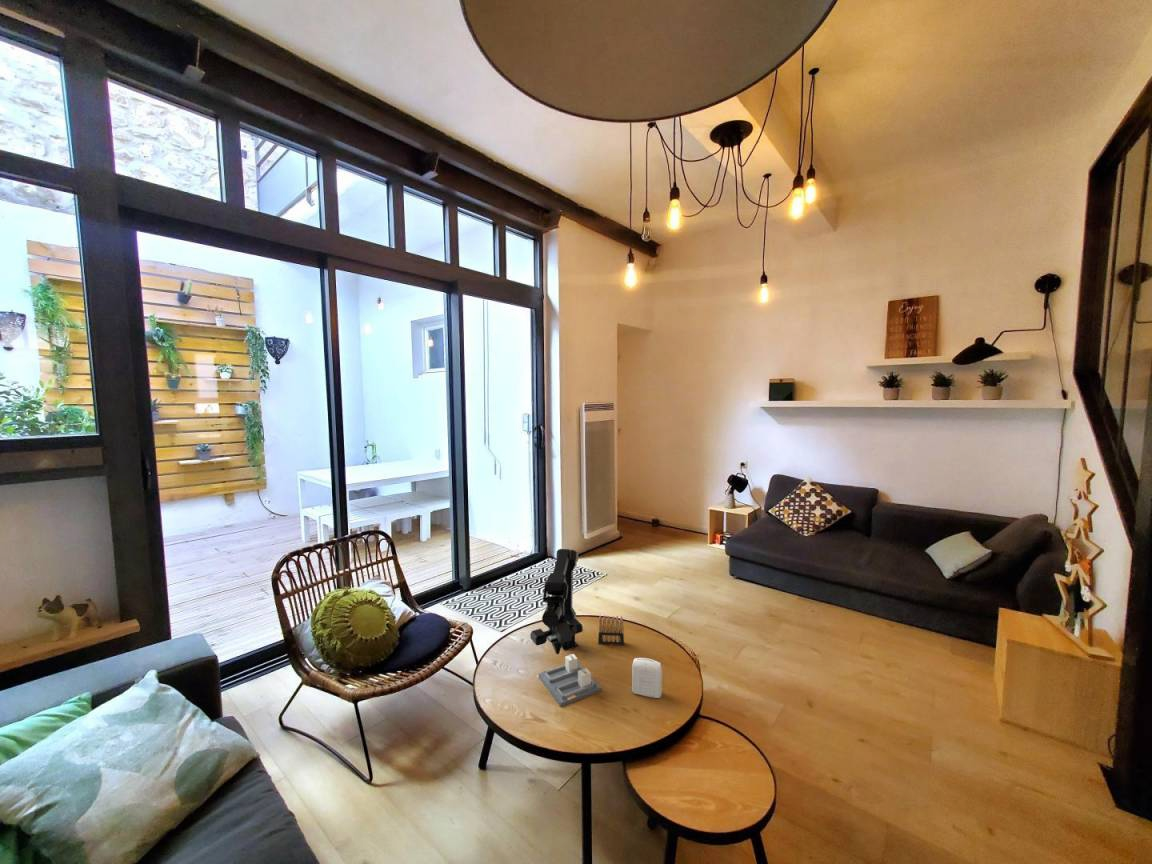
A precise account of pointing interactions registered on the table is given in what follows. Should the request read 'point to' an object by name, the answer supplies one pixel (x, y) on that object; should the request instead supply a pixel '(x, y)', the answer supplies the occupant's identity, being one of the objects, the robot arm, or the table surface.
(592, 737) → the table surface
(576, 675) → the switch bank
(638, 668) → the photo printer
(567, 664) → the white rectangular block
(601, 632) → the ammunition clip
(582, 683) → the white block
